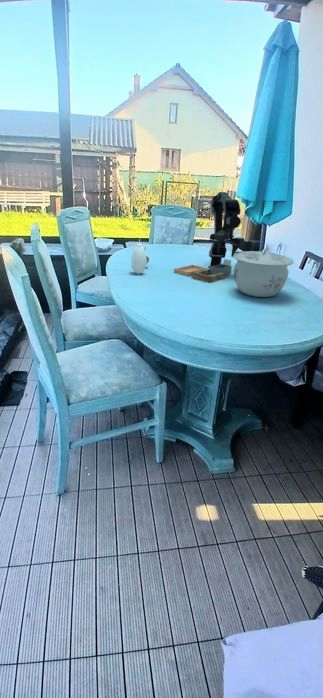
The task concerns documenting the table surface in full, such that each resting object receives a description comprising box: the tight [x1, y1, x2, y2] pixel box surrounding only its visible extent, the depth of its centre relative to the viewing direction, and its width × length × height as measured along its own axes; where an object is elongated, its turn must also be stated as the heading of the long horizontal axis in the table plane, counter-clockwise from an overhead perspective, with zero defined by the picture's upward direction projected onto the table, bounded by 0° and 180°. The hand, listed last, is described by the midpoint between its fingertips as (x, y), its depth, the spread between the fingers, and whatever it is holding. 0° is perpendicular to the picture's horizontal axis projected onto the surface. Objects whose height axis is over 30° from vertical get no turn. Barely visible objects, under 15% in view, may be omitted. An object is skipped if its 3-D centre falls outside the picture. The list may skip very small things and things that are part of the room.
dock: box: [190, 268, 226, 284], centre depth 201 cm, size 15×12×3 cm
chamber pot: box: [232, 248, 295, 298], centre depth 177 cm, size 28×28×21 cm
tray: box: [173, 264, 208, 277], centre depth 211 cm, size 17×10×2 cm, turn 138°
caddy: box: [209, 258, 233, 276], centre depth 207 cm, size 12×6×8 cm, turn 135°
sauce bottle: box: [130, 238, 148, 275], centre depth 199 cm, size 8×8×18 cm
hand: (224, 255), depth 206 cm, fingers open, 9 cm apart
